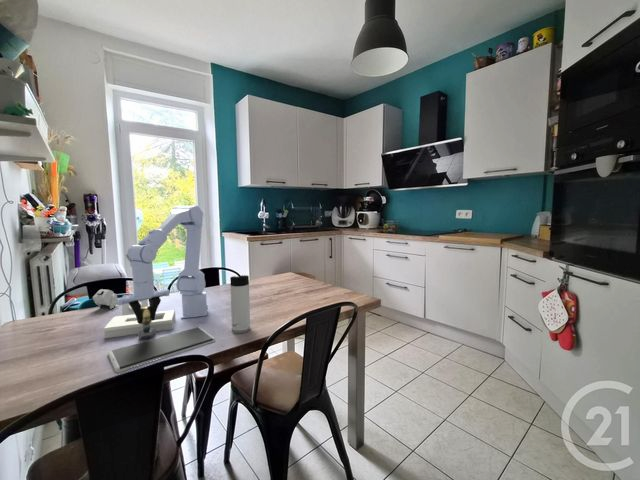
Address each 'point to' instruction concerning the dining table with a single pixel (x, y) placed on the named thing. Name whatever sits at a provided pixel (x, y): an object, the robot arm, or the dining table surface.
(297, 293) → the dining table surface
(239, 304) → the travel mug
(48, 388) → the dining table surface
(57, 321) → the dining table surface
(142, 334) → the peg
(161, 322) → the keyhole board
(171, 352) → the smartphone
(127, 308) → the light switch
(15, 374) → the dining table surface
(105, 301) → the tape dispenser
